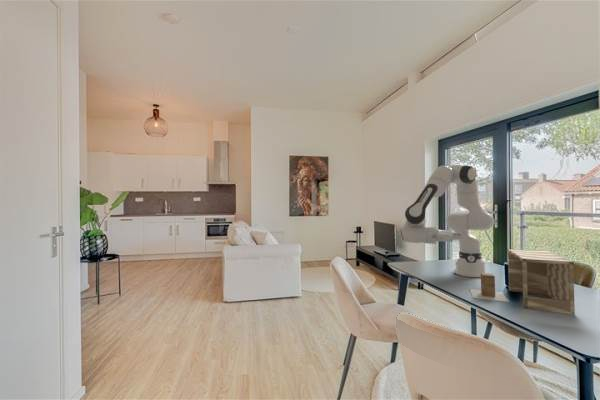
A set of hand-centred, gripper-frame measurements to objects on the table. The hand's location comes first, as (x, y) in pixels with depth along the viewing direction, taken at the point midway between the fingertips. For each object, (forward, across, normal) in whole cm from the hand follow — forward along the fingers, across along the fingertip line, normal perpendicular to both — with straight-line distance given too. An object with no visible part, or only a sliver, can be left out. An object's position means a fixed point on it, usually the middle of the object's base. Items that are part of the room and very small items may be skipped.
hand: (461, 236), depth 144 cm
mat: (+10, -5, +28) cm, 30 cm away
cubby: (+29, -5, +28) cm, 41 cm away
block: (+10, -5, +28) cm, 30 cm away
